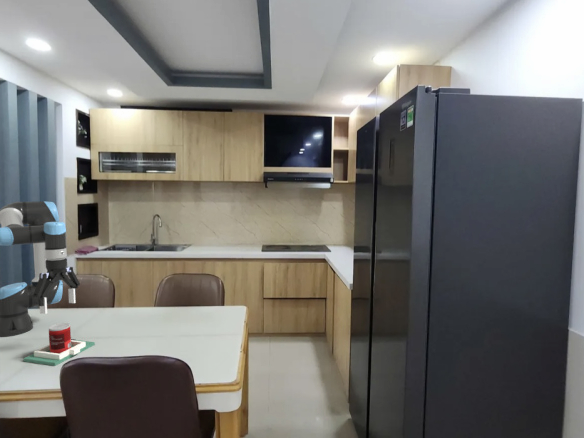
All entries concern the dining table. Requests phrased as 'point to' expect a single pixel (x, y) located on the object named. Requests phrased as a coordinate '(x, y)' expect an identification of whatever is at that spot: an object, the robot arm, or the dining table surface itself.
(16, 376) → the dining table surface
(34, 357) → the board
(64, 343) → the canned food
